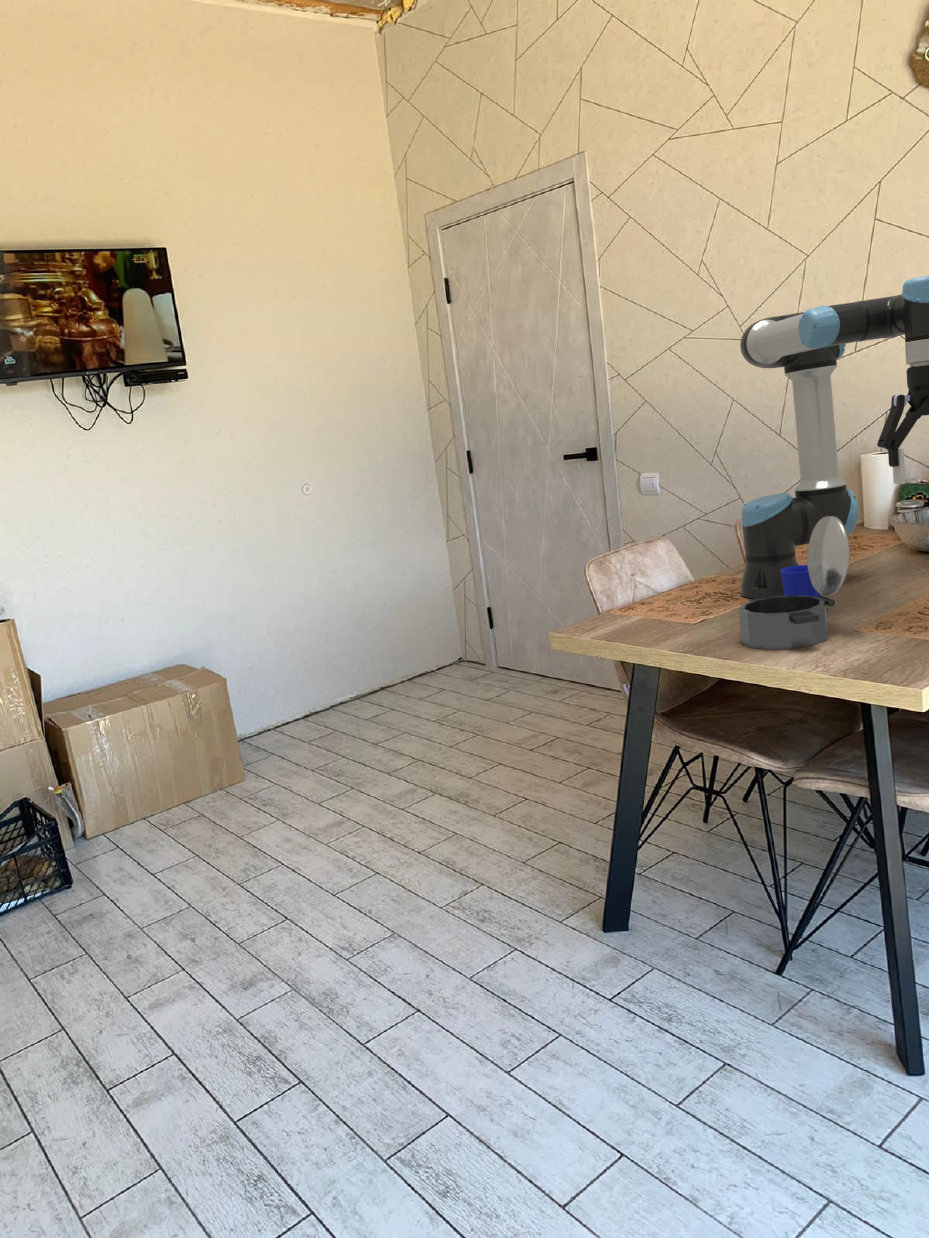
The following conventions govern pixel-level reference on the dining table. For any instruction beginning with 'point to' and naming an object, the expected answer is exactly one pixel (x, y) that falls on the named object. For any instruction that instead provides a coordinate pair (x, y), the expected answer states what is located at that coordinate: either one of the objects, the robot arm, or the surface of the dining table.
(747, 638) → the pot
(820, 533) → the lid
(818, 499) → the robot arm
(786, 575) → the mug
